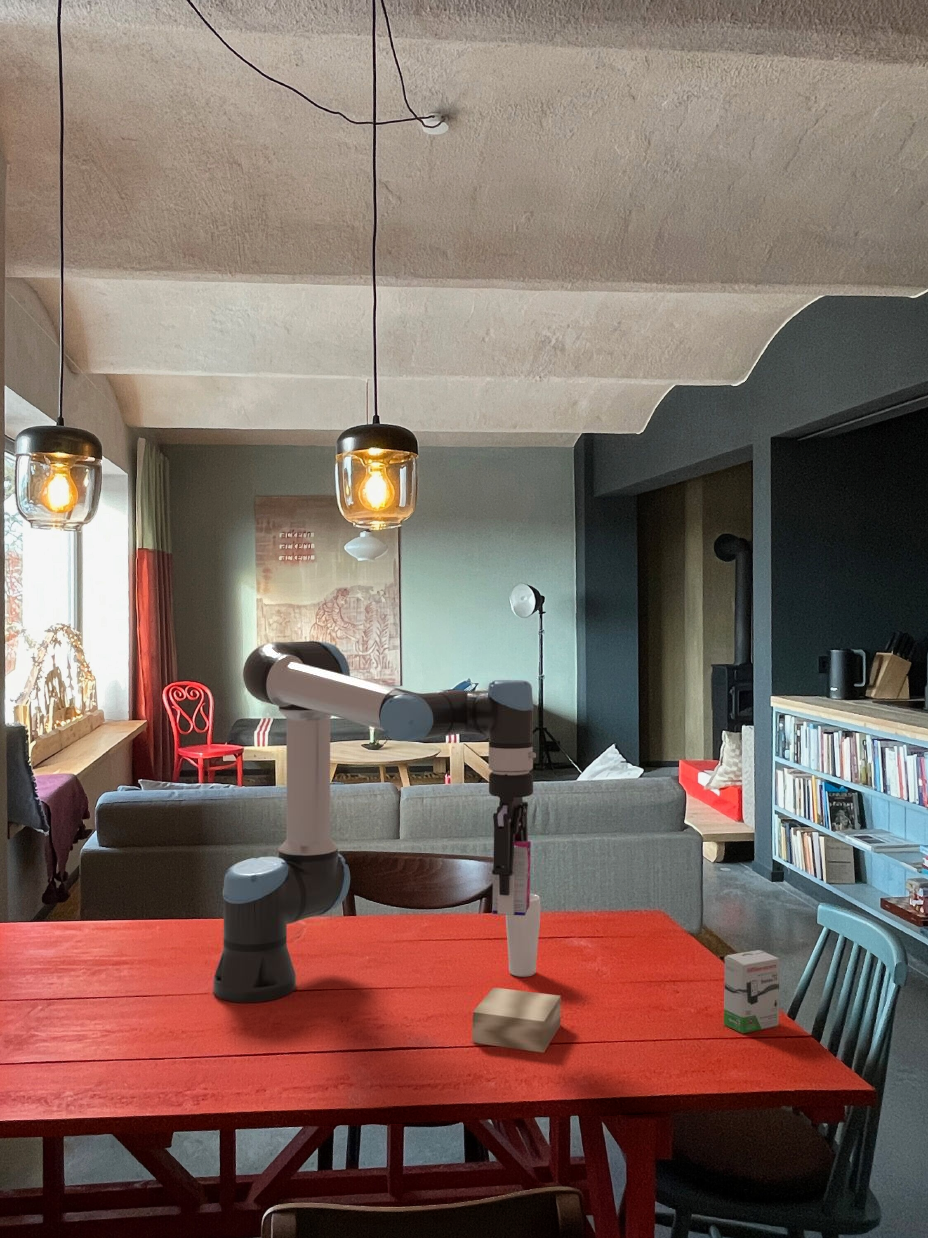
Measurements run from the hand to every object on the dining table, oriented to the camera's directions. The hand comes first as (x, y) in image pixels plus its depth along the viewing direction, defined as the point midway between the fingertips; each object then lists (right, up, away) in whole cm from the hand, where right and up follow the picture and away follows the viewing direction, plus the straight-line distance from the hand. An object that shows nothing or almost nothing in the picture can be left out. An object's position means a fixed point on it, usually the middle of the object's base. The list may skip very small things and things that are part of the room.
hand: (511, 908), depth 176 cm
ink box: (+41, -21, +3) cm, 47 cm away
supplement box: (0, -1, 0) cm, 1 cm away
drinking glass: (+3, -21, +28) cm, 35 cm away
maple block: (+1, -21, -2) cm, 21 cm away
